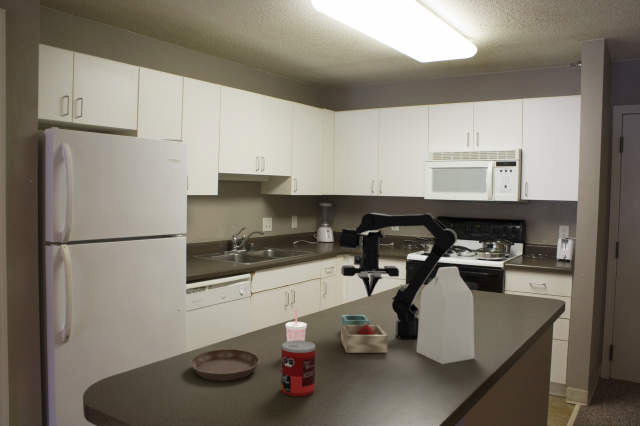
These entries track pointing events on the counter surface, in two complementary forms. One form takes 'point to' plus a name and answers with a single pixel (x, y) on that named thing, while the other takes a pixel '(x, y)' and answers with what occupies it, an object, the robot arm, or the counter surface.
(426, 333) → the milk
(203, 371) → the plant saucer
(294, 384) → the canned food
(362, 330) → the onion
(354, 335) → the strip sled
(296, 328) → the beverage cup
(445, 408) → the counter surface
